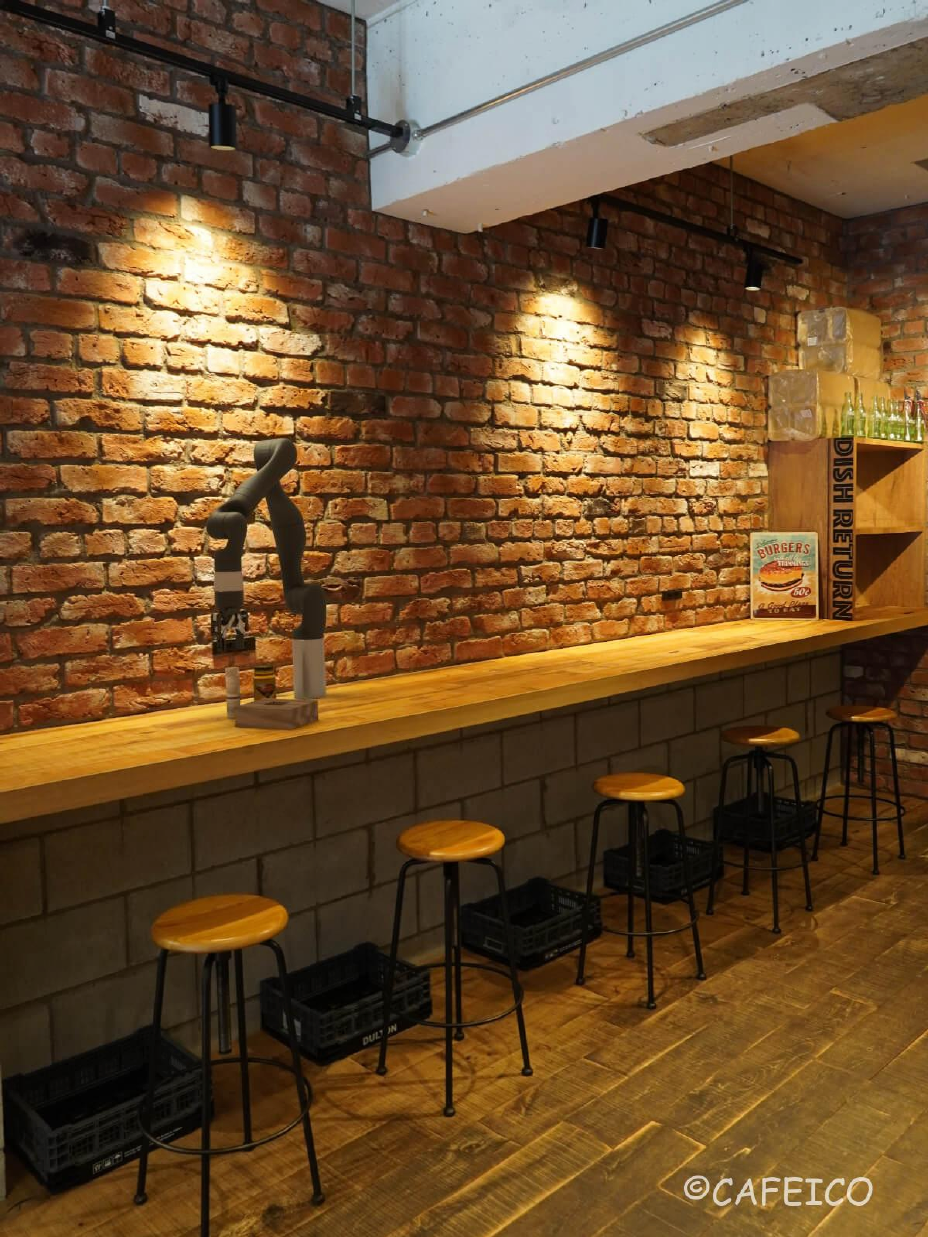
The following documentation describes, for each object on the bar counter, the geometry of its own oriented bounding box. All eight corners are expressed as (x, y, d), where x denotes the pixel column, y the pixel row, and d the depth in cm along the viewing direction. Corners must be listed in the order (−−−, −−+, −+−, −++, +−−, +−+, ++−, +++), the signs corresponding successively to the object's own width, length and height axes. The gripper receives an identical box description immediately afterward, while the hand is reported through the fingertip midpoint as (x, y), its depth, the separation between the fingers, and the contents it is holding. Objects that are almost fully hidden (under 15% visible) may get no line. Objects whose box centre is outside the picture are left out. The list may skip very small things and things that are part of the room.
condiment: (266, 712, 282) (264, 668, 281) (242, 710, 286) (240, 666, 285) (283, 707, 289) (282, 664, 288) (260, 705, 293) (258, 663, 292)
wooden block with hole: (264, 716, 275) (263, 698, 274) (318, 719, 269) (317, 700, 269) (235, 726, 262) (234, 707, 261) (291, 729, 256) (290, 709, 256)
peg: (231, 715, 278) (229, 666, 277) (243, 716, 277) (242, 667, 276) (224, 717, 275) (222, 668, 274) (236, 718, 273) (234, 669, 272)
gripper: (231, 587, 281) (233, 647, 282) (200, 590, 268) (203, 653, 269) (255, 587, 278) (257, 648, 280) (225, 590, 265) (228, 654, 266)
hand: (230, 650), depth 274 cm, fingers open, 8 cm apart
